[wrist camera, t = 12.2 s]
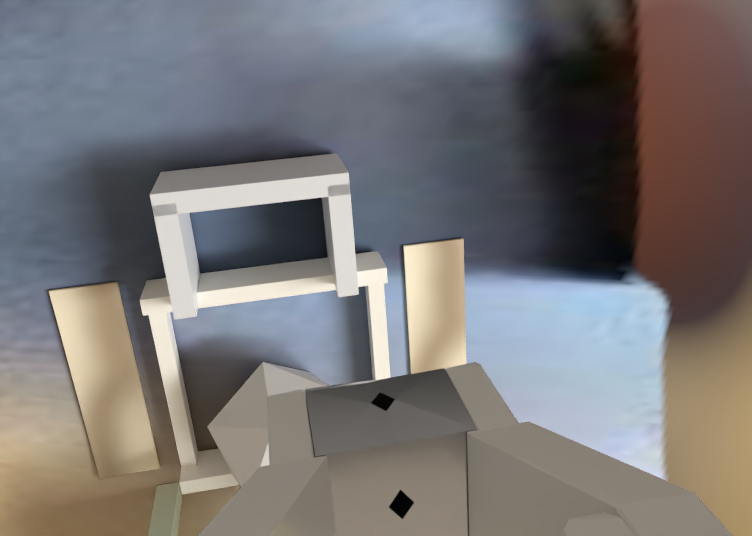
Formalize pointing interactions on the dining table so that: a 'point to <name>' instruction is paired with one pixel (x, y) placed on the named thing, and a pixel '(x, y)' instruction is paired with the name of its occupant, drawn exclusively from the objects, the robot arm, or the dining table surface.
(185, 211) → the white low frame
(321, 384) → the die
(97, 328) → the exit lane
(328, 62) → the dining table surface
